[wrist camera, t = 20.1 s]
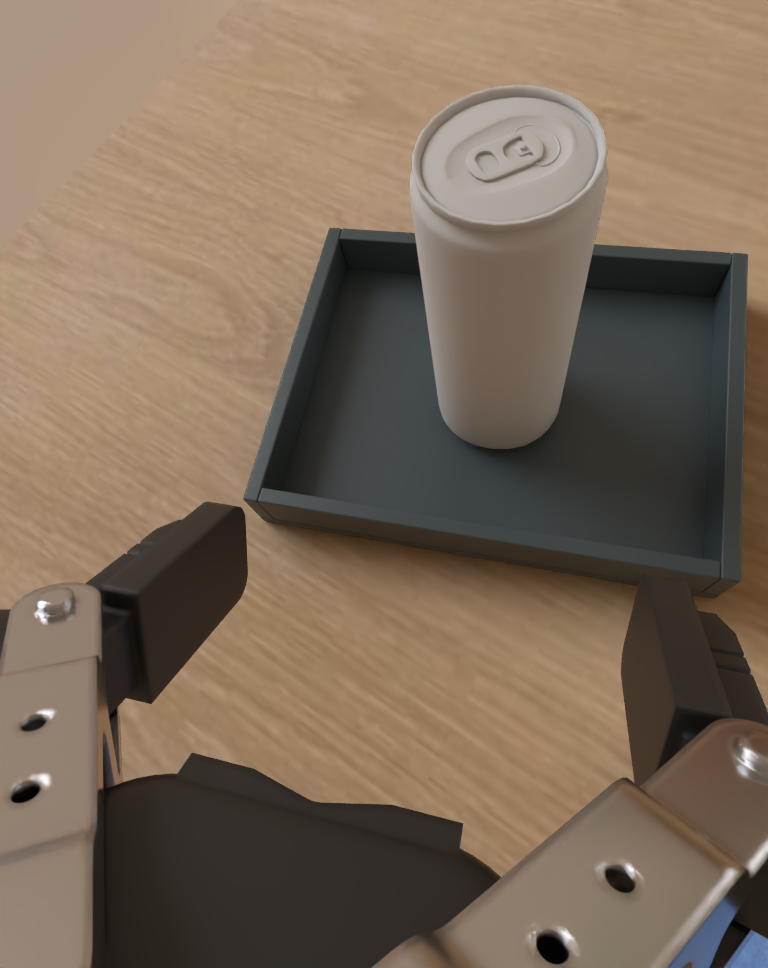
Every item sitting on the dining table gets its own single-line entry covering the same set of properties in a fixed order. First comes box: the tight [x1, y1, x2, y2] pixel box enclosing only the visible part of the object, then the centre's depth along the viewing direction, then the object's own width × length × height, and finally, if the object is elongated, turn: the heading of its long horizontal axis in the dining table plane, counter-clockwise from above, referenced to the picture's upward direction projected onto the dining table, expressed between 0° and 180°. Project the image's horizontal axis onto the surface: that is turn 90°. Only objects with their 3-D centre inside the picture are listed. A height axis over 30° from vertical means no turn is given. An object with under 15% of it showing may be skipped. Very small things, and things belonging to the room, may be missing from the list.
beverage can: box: [410, 85, 608, 449], centre depth 20 cm, size 5×5×12 cm
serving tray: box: [243, 228, 748, 598], centre depth 25 cm, size 17×13×2 cm
